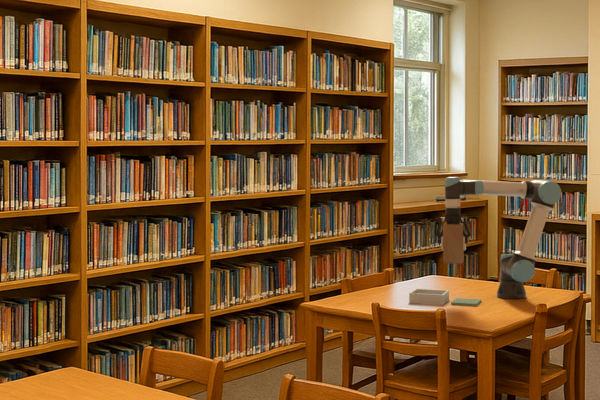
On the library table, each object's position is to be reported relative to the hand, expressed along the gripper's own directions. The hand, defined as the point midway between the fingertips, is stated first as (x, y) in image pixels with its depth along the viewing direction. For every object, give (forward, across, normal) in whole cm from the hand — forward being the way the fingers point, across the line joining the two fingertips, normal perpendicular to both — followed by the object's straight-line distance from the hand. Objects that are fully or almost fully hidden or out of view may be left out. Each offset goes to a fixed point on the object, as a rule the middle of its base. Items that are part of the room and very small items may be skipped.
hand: (453, 249), depth 427 cm
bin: (+27, +13, +1) cm, 30 cm away
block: (+7, 0, 0) cm, 7 cm away
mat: (+27, -6, 0) cm, 28 cm away
